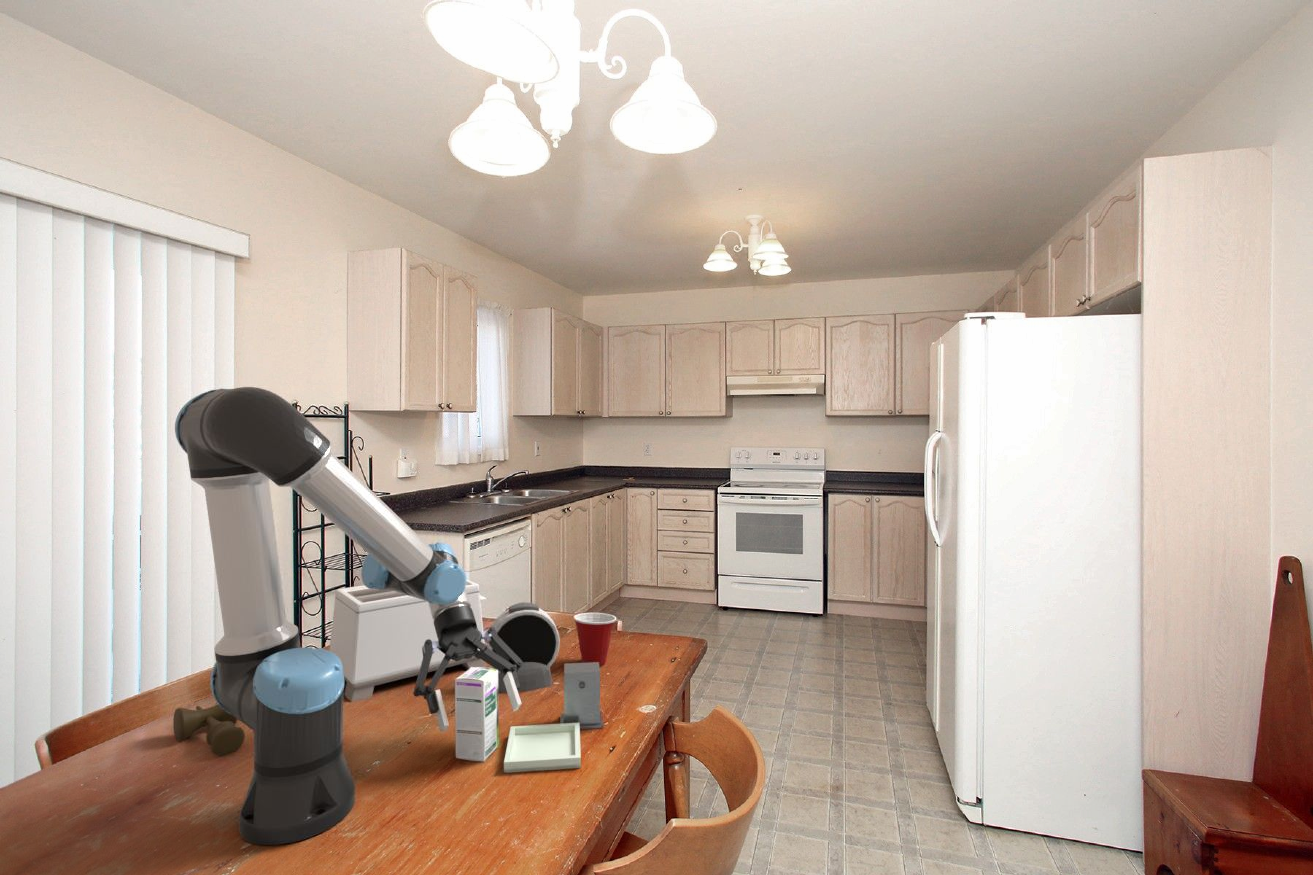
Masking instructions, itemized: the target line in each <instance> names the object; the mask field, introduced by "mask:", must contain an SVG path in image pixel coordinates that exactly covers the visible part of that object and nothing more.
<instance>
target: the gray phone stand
mask: <svg viewBox="0 0 1313 875" xmlns="http://www.w3.org/2000/svg"><path fill="white" fill-rule="evenodd" d="M563 664H564V667H563V669H564V670H563V673H564V674H563V676H564V677H563V680H564V681H563V713H560V717H559V718H560V720H559V724H564V723H579V725H580V730H589V729H590V730H591V729H593V730H595V729H604V719H603V712H602V711H601V702H600V701H601V696H600V695H601V669H600V668H601V667H599V662H592V663H583V662H574V663H573V662H572V663H568V662H567V663H563Z"/></svg>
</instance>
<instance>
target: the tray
mask: <svg viewBox="0 0 1313 875" xmlns="http://www.w3.org/2000/svg"><path fill="white" fill-rule="evenodd" d="M581 753H582V752H581V729H580V725H579V723H564V724H560V723H550V724H548V723H547V724H546V723H545V724H534V725H533V724H531V725H515V726H514V725H513V726H512V725H511V726H510V729H509V735H508V739H507V744H506V750H505V756H504V760H503V774H507V773H508V774H510V773H523V772H525V773H526V772H537V771H541V772H542V771H553V770H554V771H555V770H570V769H581V768H582V766H581V764H582V763H581V762H582V757H581V755H582V754H581Z"/></svg>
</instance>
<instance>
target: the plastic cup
mask: <svg viewBox="0 0 1313 875" xmlns="http://www.w3.org/2000/svg"><path fill="white" fill-rule="evenodd" d="M573 620H574V622H575V626H576V630H577V631H576V632H577V637H578V643H579V646H578V647H579V651H580V656H581V663H592V662H599V667H600V668H601V667H603V666H605V665H606V662H607V657H608V652H609V649H610V648H609V647H610V643H611V635H612V631H613V628H614V624H615V623H616V621H617V617H616V616H615V615H613V614H609V613H604V612H584V613H578V614H575V615H574V616H573Z"/></svg>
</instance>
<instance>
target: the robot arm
mask: <svg viewBox="0 0 1313 875" xmlns="http://www.w3.org/2000/svg"><path fill="white" fill-rule="evenodd" d="M174 434H175V437H176V440H177V442H178V444H179V446H180V448H181V449H182V450H183V451H184V452H185V454H187V460H188V461H187V462H188V468H189V474H190V480H191V481H193V482H194V483H196V484H198V485H199V486H201V487H202V488H203V489H204V495H205V501H206V502H205V503H206V504H205V505H206V510H207V517H208V518H207V519H208V524H209V525H208V526H209V533H210V536H211V537H210V539H211V540H210V541H211V547H212V554H213V561H214V570H215V575H216V584H217V590H218V592H217V593H218V597H219V598H218V599H219V604H220V612H221V620H222V627H223V628H222V629H223V637H222V638H220V639H219V641H218V642H217V643H216V644H215V646H214V656H215V663H214V665H213V667H212V669H211V672H210V678H209V679H210V680H209V681H210V682H209V684H210V691H211V693H212V696H213V697H214V700H215V701H216V703H217V704H218V705H219V706H221V708H222V709H223V710H225V711H226V712H228V713H229V714H231V715H233V716H234V717H236V718H237V719H238V720H237V721H240V722H241V723H243V725H245V726H247V727H248V728H249V729H250V730H252V732H253V761H254V762H253V765H254V766H253V773H252V776H251V778H250V779H251V780H250V783H249V785H248V788H247V791H246V793H245V797H244V800H243V803H242V804H241V805H242V806H241V807H240V811H239V816H238V817H239V819H238V820H239V825H238V826H239V829H238V830H239V835H240V836H241V837H242V839H243V840H245V841H247V842H249V843H251V844H255V845H260V846H278V845H279V846H280V845H284V844H285V845H286V844H291V843H296V842H298V841H303V840H306V839H308V838H311V837H315V836H317V835H319V834H322V833H323V832H326V831H327V830H328V829H330V828H333V827H334V826H336V825H337V824H338V823H340V821H343V819H345V818H346V817H347V815H348V814H350V812H351V811H352V809H353V807H354V806H355V802H356V800H355V799H356V794H355V793H356V791H355V790H356V786H355V782H354V779H353V776H352V773H351V771H350V768H349V766H348V763H347V761H346V758H345V755H344V752H343V751H344V750H343V747H344V746H343V745H344V744H343V740H344V739H343V738H344V736H343V732H344V730H343V729H344V688H345V680H344V675H343V668H342V663H341V660H340V658H339V657H338V656H337V655H336V654H334V653H332V652H331V651H329V650H328V649H324V648H319V647H318V648H312V647H306V646H305V647H301V642H300V641H301V640H300V632H299V627H298V626H297V625H295V624H293V623H292V622H291V621H288V620H287V616H286V615H287V614H286V606H285V600H284V599H285V598H284V591H283V584H282V583H283V582H282V576H281V575H282V574H281V568H280V560H279V552H278V550H279V549H278V545H277V544H278V542H277V535H276V529H275V526H276V525H275V520H274V518H275V517H274V513H273V512H274V511H273V504H272V502H273V501H272V496H271V494H272V493H271V488H270V481H271V482H273V483H274V484H275V485H276V486H278V487H281V488H283V487H285V488H286V487H287V488H288V487H290V488H291V489H292V490H294V491H295V492H296V493H297V494H298V495H299V496H300V497H302V498H303V499H304V500H306V502H308V504H310V505H311V506H312V507H314V509H316V510H317V511H318V512H319V513H320V514H322V515H323V516H324V517H325V518H327V519H328V521H330V522H331V523H332V524H334V525H335V526H336V527H337V528H338V529H339V530H340V531H342V532H343V533H344V534H345V535H346V536H347V537H348V538H350V540H352V541H353V542H355V543H356V545H358V546H359V547H360V548H361V549H363V550H364V551H365V552H366V553H367V555H366V556H365V558H364V560H363V562H362V567H361V570H360V571H361V573H360V574H361V575H360V578H361V581H362V584H363V585H365V586H366V587H367V588H370V589H378V590H381V591H382V590H392V591H395V592H399V593H402V594H405V595H408V596H412V597H415V598H418V599H421V600H424V601H428V604H429V608H430V611H431V615H432V619H433V620H434V627H435V630H436V634H437V638H438V641H433V642H432V641H431V640H430V639H427V640H426V641H425V643H424V645H423V647H422V652H423V660H422V663H421V667H420V671H419V674H418V675H417V679H416V682H415V686H414V689H413V693H412V694H413V697H416V698H417V697H420V696H421V697H423V699H424V700H426V703H427V707H428V711H429V713H430V714H431V715H433V714H435V716H436V720H437V724H438V728H439V732H440V734H441V733H445V732H446V731H447V729H448V727H449V726H450V724H449V720H448V716H447V712H446V709H445V708H446V707H445V705H444V701H443V696H442V693H441V689H440V688H439V689H436V687H437V686H438V683H439V681H440V680H441V678H442V676H443V674H444V673H445V670H446V667H447V665H448V663H449V661H450V659H452V660H455V662H456V661H460V660H462V659H469V658H472V656H475V657H476V658H478V659H482V660H483V661H484V663H485V664H488V665H489V666H491V667H492V668H493V667H494V668H495V669H497V670H498V671H500V672H501V673H503V674H504V675H505V677H504V678H503V681H504V684H505V687H506V690H507V692H506V694H507V696H508V698H509V702H510V706H511V708H512V711H513V712H516V711H518V709H520V707H521V705H522V701H521V697H520V695H519V692H518V691H517V690H518V689H519V687H520V683H519V680H518V677H517V674H516V671H518V670H519V669H520V667H521V666H522V664H523V661H522V660H521V659H520V658H519V657H518V656H517V655H516V654H515V653H514V652H513V651H512V650H511V649H510V648H509V647H508V646H507V645H506V644H505V643H504V642H503V640H502V639H501V638H500V637H499V636H498V635H497V632H496V630H495V628H494V627H491V626H490V627H489V628H488V629H487V630H483V632H480V631H479V630H478V628H477V624H476V620H475V617H474V614H473V611H472V609H471V608H470V607H471V604H470V601H469V598H468V595H467V592H466V589H465V587H466V579H467V574H466V572H465V569H464V568H463V567H462V566H461V565H459V560H458V558H457V556H456V554H455V552H454V550H453V548H452V546H451V545H450V544H448V543H446V542H436V543H430V544H428V543H427V542H426V541H425V540H423V538H422V537H420V536H419V535H418V534H417V533H416V532H415V531H414V530H413V529H412V528H411V527H410V526H409V525H408V524H407V523H406V522H405V521H404V520H403V519H402V518H400V516H398V514H396V512H394V511H393V510H392V508H390V507H389V506H388V505H387V504H386V503H385V502H384V501H383V500H382V499H381V498H380V497H379V496H378V495H376V493H374V491H373V490H371V489H370V488H369V487H368V486H367V485H366V484H365V483H364V482H363V481H362V480H361V479H360V478H359V477H358V476H357V475H356V474H354V472H353V471H351V469H349V467H348V466H346V465H345V464H344V463H343V462H342V461H341V459H339V458H338V457H337V456H336V455H335V454H334V453H333V452H332V442H331V441H330V440H329V439H328V438H327V436H325V435H324V434H323V433H322V432H321V431H320V430H319V429H318V428H317V427H316V426H315V425H314V424H313V423H312V421H311V422H310V420H308V418H306V417H305V415H304V414H302V413H301V412H300V411H299V410H298V409H297V408H296V407H295V406H293V405H292V404H291V403H290V402H289V401H287V400H286V399H284V398H283V397H282V396H280V395H279V394H277V393H274V392H272V391H271V390H268V389H264V388H261V387H254V386H242V387H236V388H219V389H210V390H208V391H205V392H203V393H200V394H198V395H196V396H194V397H193V398H190V399H189V401H187V402H186V403H185V404H184V405H183V406H182V408H180V410H179V412H178V414H177V416H176V418H175V423H174ZM481 639H484V643H485V644H484V643H482V642H481ZM487 642H488V643H489V645H490V646H491V647H492V648H493V649H494V650H495V651H496V652H497V653H498V654H499V655H500V656H499V655H498V654H496V653H495V652H493V651H492V650H490V649H489V648H487V644H486V643H487ZM437 648H438V649H439V650H440V651H441V652H443V653H444V654H445V656H444V658H443V660H442V662H441V664H440V666H439V667H438V669H437V670H435V673H434V675H433V676H432V679H431V680H430V682H429V684H428V685H425V684H426V683H425V682H426V680H427V676H428V673H429V672H428V669H429V665H430V661H431V657H432V654H434V652H435V650H436V649H437ZM477 649H480V651H479V650H477ZM447 668H448V667H447ZM494 668H493V669H494ZM435 689H436V690H435Z"/></svg>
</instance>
